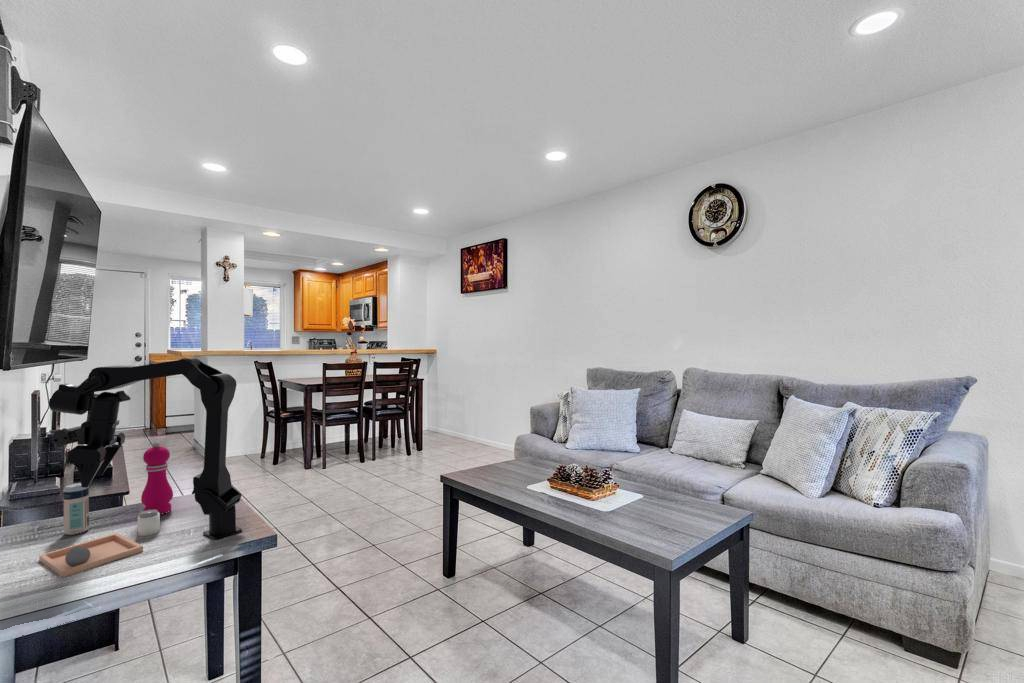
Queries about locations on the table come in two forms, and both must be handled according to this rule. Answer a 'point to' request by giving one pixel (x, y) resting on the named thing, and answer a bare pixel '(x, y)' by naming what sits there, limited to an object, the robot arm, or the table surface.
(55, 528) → the table surface
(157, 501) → the pepper mill
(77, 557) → the mixing ball
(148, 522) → the cylinder
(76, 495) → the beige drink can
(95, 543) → the tray
